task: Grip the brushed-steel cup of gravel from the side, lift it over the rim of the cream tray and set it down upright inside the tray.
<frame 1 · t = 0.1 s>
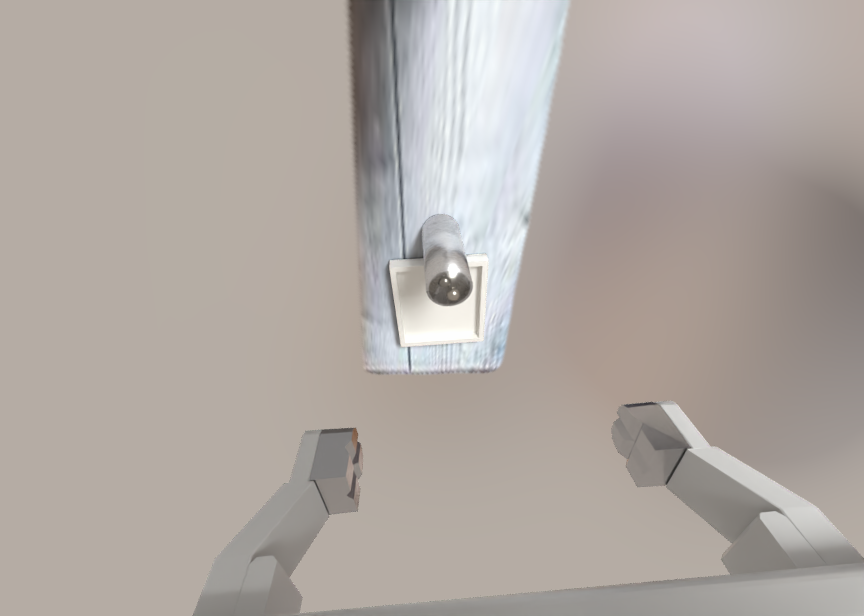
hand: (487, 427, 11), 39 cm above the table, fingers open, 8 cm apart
cream tray: (439, 299, 57), on the table
gravel cup: (440, 231, 50), on the table
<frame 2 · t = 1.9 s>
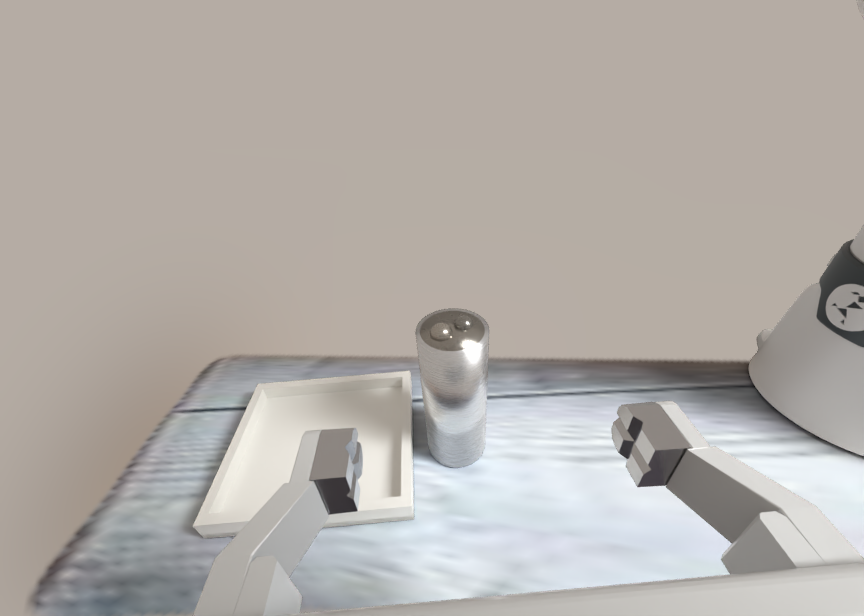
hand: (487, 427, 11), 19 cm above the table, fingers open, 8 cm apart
cream tray: (326, 447, 33), on the table
gravel cup: (456, 441, 33), on the table
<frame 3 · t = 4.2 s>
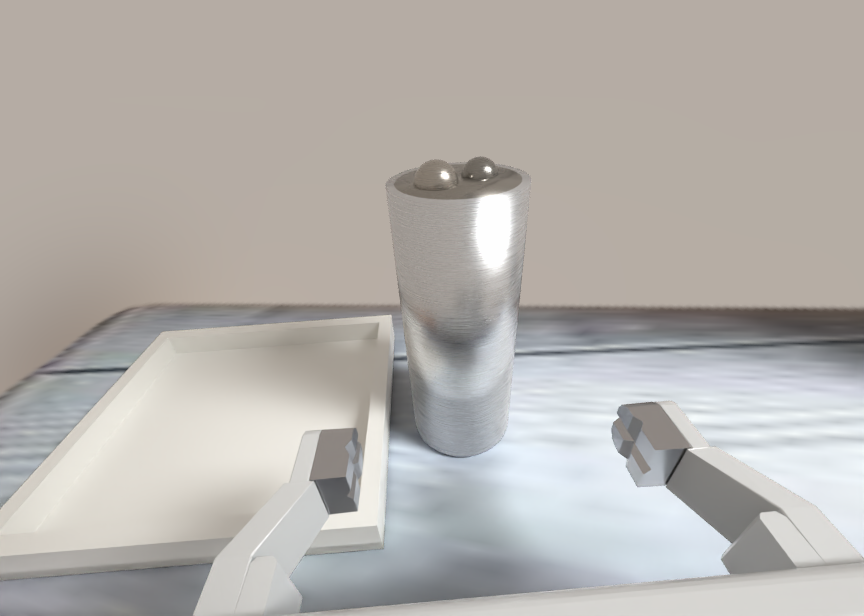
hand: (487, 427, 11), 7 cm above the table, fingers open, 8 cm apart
cream tray: (250, 424, 21), on the table
gravel cup: (460, 415, 20), on the table
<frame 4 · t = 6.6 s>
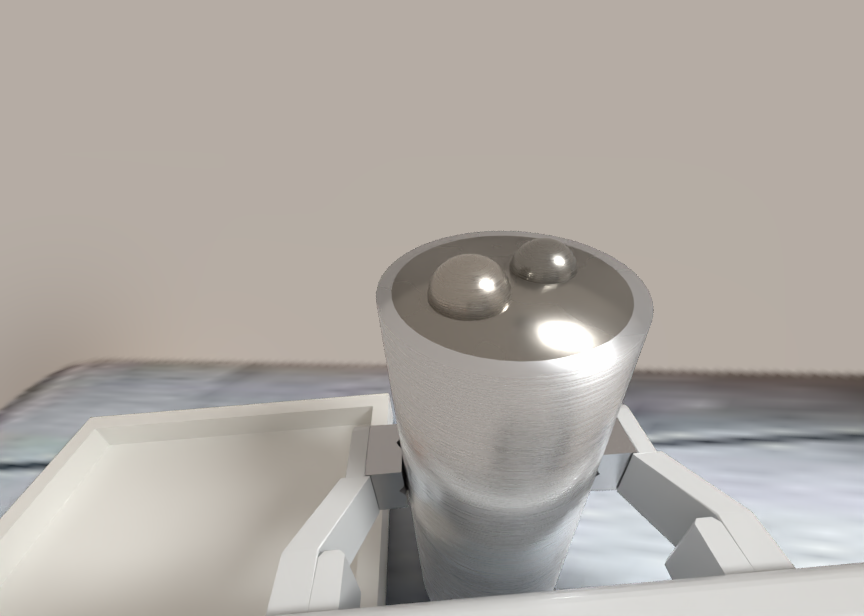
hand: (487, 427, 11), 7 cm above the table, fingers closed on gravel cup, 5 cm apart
cream tray: (193, 571, 15), on the table
gravel cup: (485, 559, 15), on the table, touching gripper
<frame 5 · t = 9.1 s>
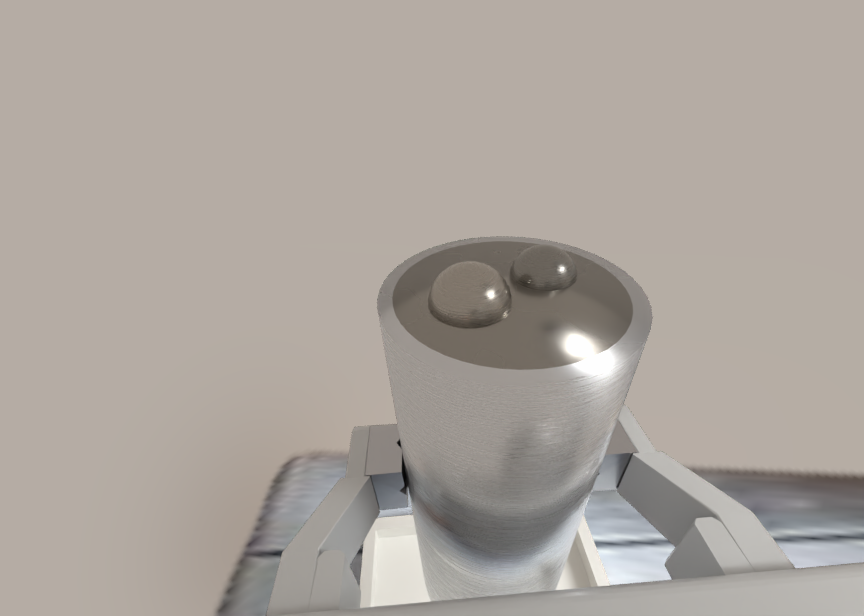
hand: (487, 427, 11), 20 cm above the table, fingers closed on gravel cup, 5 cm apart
gravel cup: (486, 561, 15), point 13 cm above the table, touching gripper
when the fingers open (9 cm above the table, at t = 12.1 s): gravel cup drops 1 cm, resting on cream tray.
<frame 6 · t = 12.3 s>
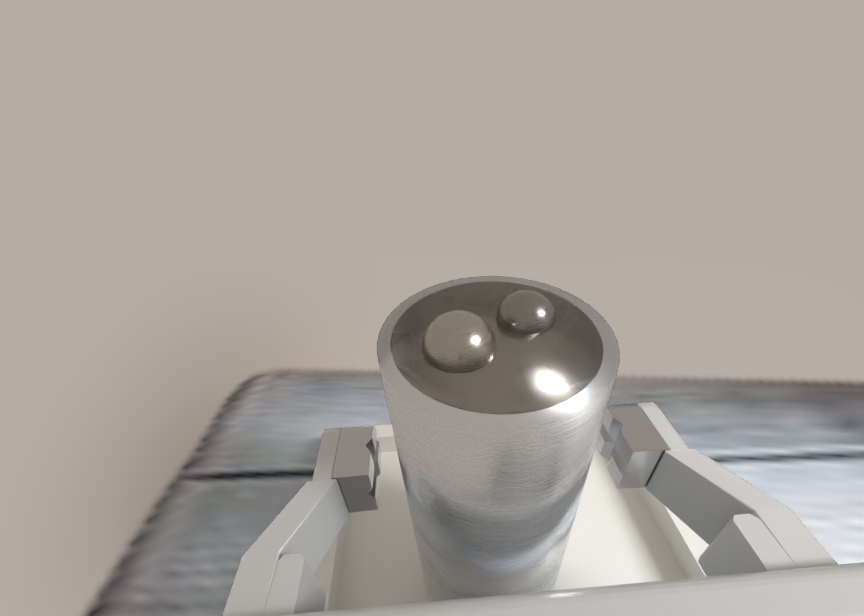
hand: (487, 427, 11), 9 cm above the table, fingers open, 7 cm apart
cream tray: (507, 576, 16), on the table
gravel cup: (486, 574, 15), point 1 cm above the table, touching cream tray
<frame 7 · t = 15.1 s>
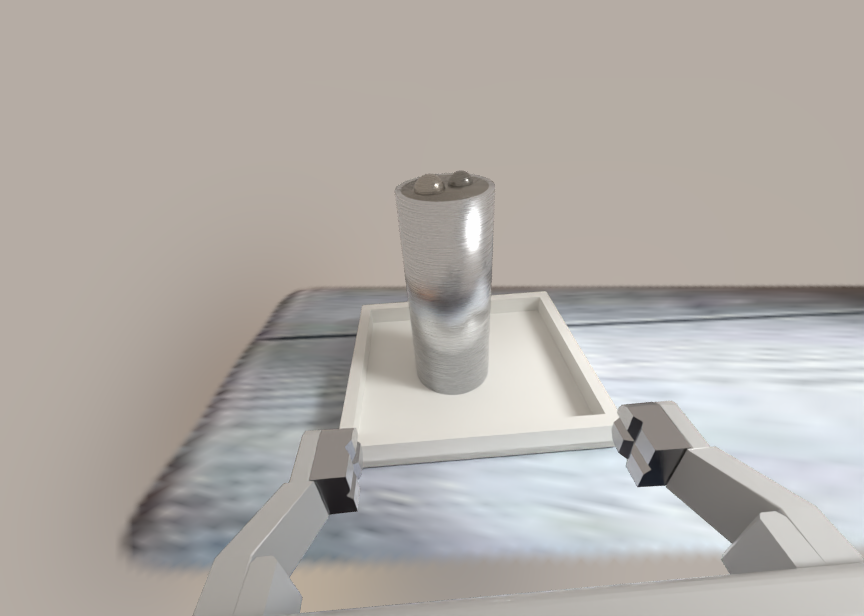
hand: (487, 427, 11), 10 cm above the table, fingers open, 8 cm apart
cream tray: (465, 372, 27), on the table
gravel cup: (452, 367, 26), point 1 cm above the table, touching cream tray
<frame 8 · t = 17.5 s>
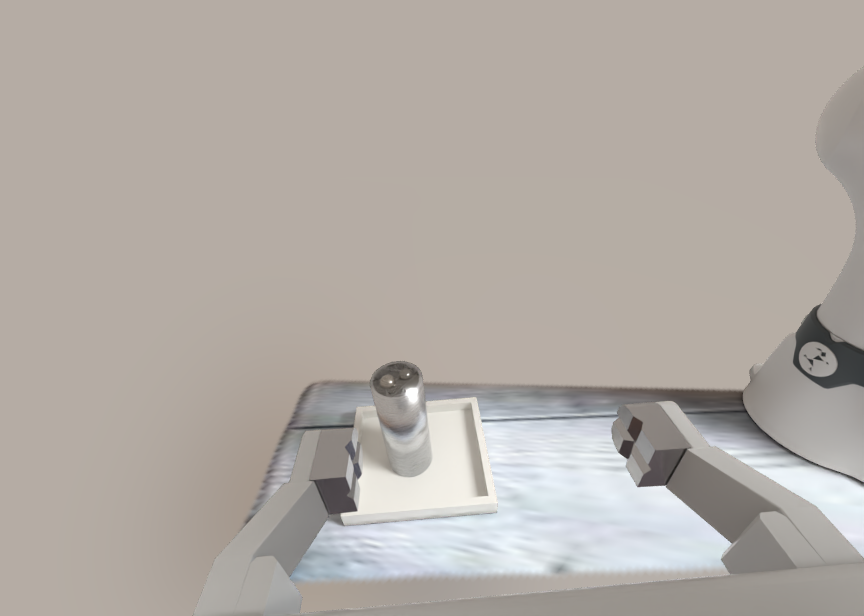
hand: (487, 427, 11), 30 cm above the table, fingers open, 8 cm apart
cream tray: (419, 458, 44), on the table
gravel cup: (410, 456, 43), point 1 cm above the table, touching cream tray
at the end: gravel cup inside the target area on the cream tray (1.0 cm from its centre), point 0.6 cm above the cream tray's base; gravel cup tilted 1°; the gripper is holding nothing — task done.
